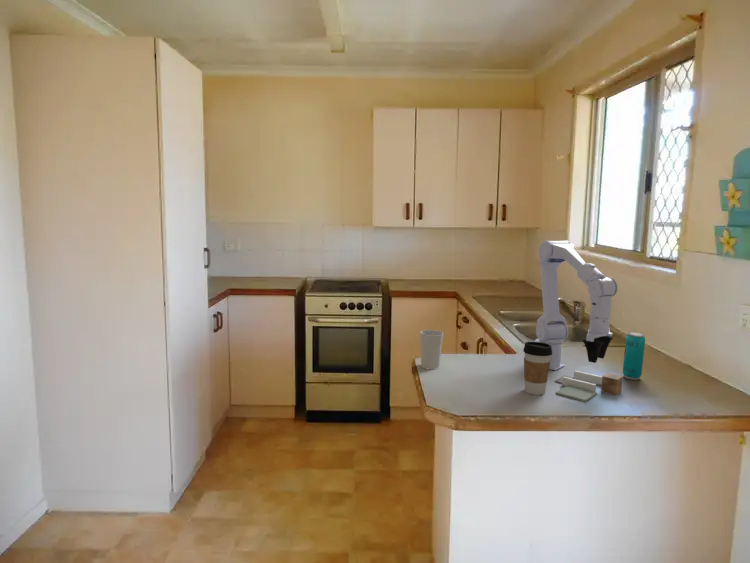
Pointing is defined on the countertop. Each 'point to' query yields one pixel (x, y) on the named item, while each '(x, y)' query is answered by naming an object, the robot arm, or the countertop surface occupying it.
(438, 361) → the cup
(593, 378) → the white u-shaped frame
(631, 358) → the beverage can
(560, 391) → the coaster
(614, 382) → the block
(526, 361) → the coffee cup
